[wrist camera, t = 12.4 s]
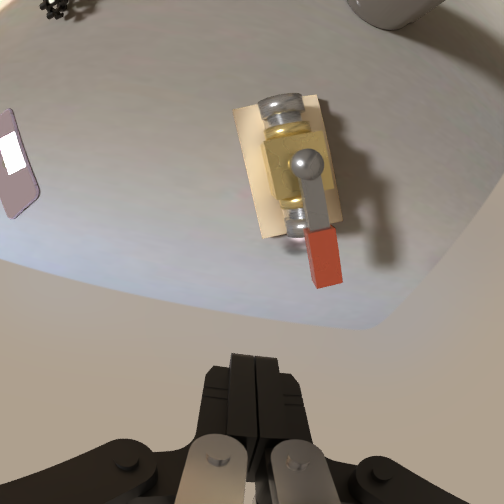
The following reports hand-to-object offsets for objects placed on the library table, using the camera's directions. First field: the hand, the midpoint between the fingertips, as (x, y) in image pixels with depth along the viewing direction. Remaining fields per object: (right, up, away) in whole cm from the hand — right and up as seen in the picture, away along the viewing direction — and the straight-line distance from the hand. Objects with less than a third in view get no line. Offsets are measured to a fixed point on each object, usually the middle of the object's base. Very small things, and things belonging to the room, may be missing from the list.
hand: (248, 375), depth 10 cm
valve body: (+4, +13, +21) cm, 25 cm away
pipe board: (+4, +13, +22) cm, 26 cm away
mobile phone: (-34, +17, +21) cm, 43 cm away
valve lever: (+5, +7, +15) cm, 17 cm away
